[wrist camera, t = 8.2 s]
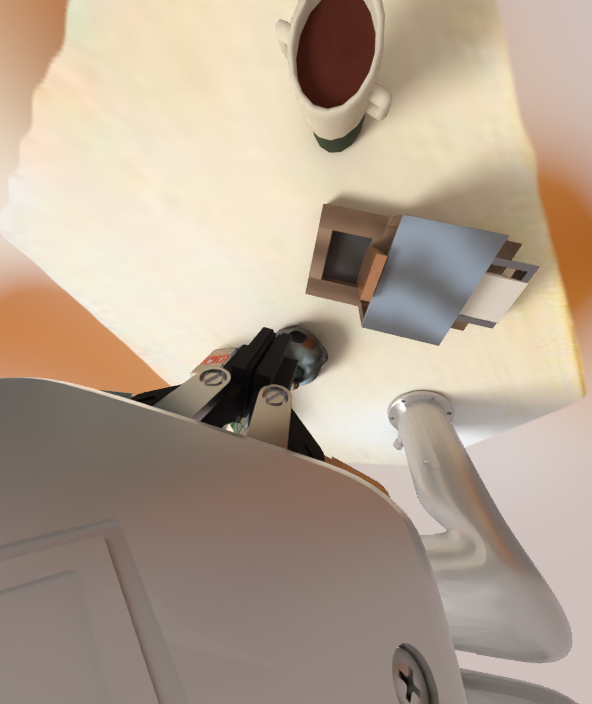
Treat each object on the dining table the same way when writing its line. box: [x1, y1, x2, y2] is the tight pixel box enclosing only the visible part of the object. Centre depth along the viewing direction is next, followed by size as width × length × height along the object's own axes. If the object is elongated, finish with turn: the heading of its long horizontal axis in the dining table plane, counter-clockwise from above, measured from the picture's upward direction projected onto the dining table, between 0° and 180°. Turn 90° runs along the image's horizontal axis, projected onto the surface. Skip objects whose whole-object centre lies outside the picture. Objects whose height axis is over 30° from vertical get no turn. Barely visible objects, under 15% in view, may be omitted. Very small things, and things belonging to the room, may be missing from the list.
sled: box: [356, 246, 539, 328], centre depth 27 cm, size 9×20×9 cm, turn 80°
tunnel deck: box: [306, 204, 522, 346], centre depth 29 cm, size 13×26×11 cm, turn 80°
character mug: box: [276, 0, 392, 152], centre depth 21 cm, size 11×7×13 cm, turn 63°
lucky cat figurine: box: [276, 325, 328, 390], centre depth 40 cm, size 15×12×14 cm
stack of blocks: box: [190, 348, 249, 436], centre depth 48 cm, size 21×6×12 cm, turn 12°
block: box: [459, 271, 528, 323], centre depth 28 cm, size 5×5×6 cm
